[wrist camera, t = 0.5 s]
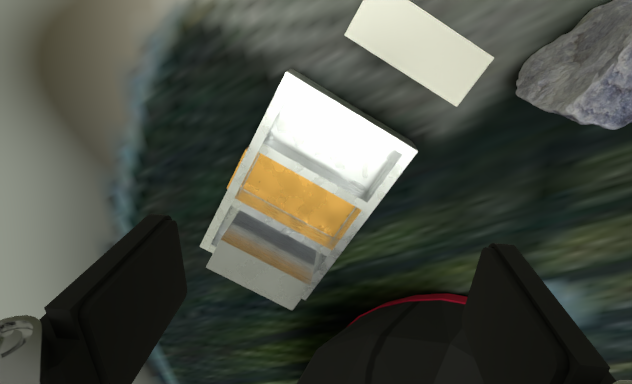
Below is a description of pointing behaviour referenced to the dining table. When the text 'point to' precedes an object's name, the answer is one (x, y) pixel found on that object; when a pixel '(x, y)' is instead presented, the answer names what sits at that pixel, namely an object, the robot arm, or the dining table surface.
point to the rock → (585, 70)
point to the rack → (302, 191)
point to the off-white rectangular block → (419, 46)
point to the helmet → (399, 346)
